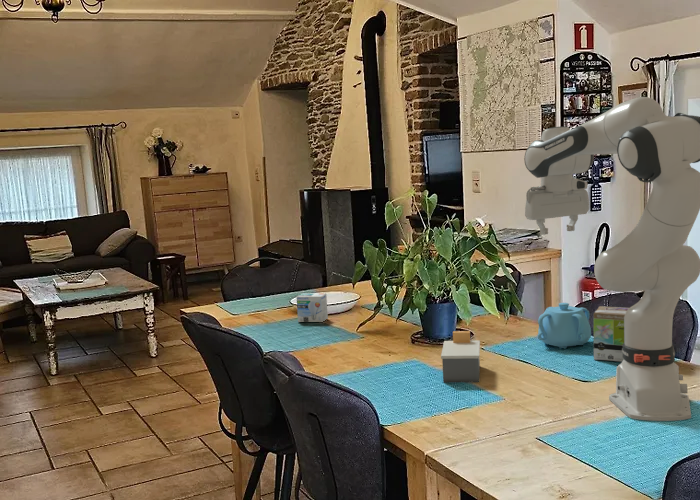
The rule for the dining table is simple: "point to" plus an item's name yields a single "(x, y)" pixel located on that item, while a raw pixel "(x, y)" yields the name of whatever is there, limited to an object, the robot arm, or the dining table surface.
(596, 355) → the tea box
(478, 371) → the tub
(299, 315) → the light bulb box
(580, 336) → the decorative pot
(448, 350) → the lid
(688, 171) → the robot arm
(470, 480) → the dining table surface
